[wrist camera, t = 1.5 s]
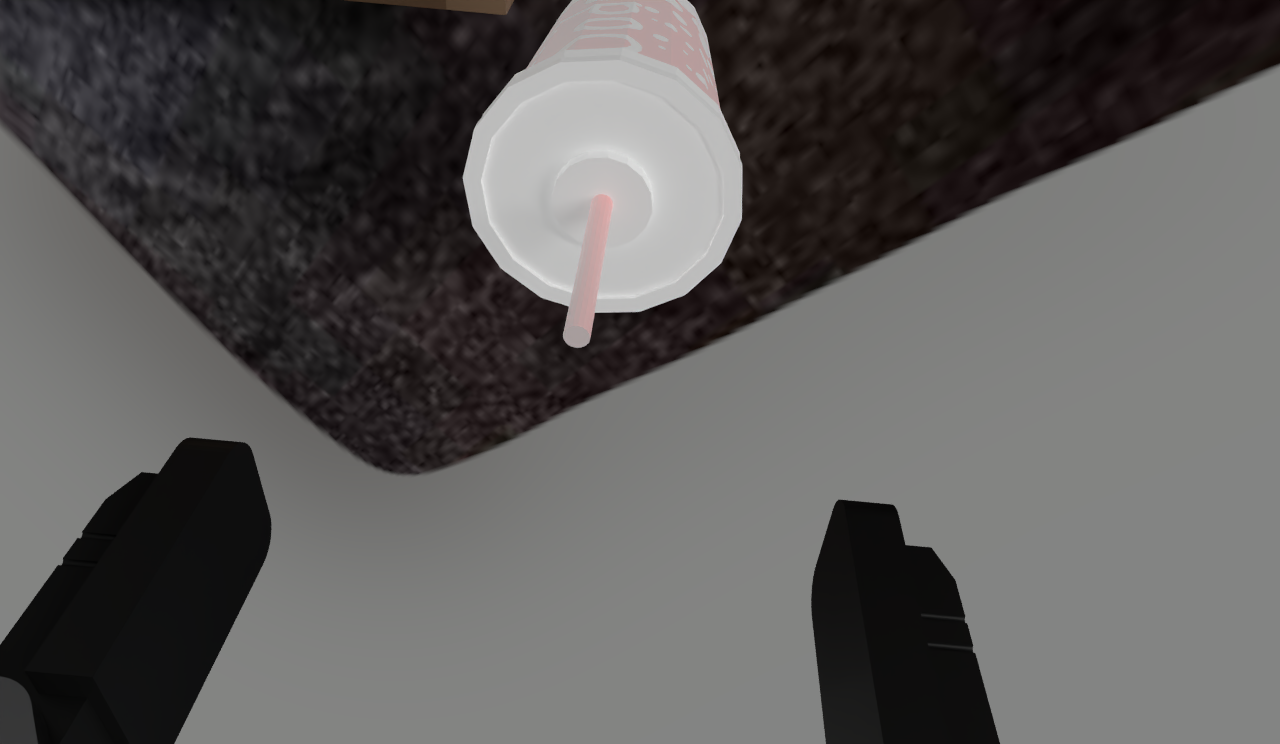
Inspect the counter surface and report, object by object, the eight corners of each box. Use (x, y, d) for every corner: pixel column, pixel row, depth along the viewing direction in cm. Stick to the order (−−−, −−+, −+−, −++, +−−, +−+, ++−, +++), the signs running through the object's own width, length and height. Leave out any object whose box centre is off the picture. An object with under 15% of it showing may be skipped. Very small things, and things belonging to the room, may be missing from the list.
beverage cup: (754, -39, 24) (792, 206, 14) (713, 164, 28) (717, 482, 17) (533, -74, 24) (392, 147, 13) (522, 135, 28) (405, 439, 17)
